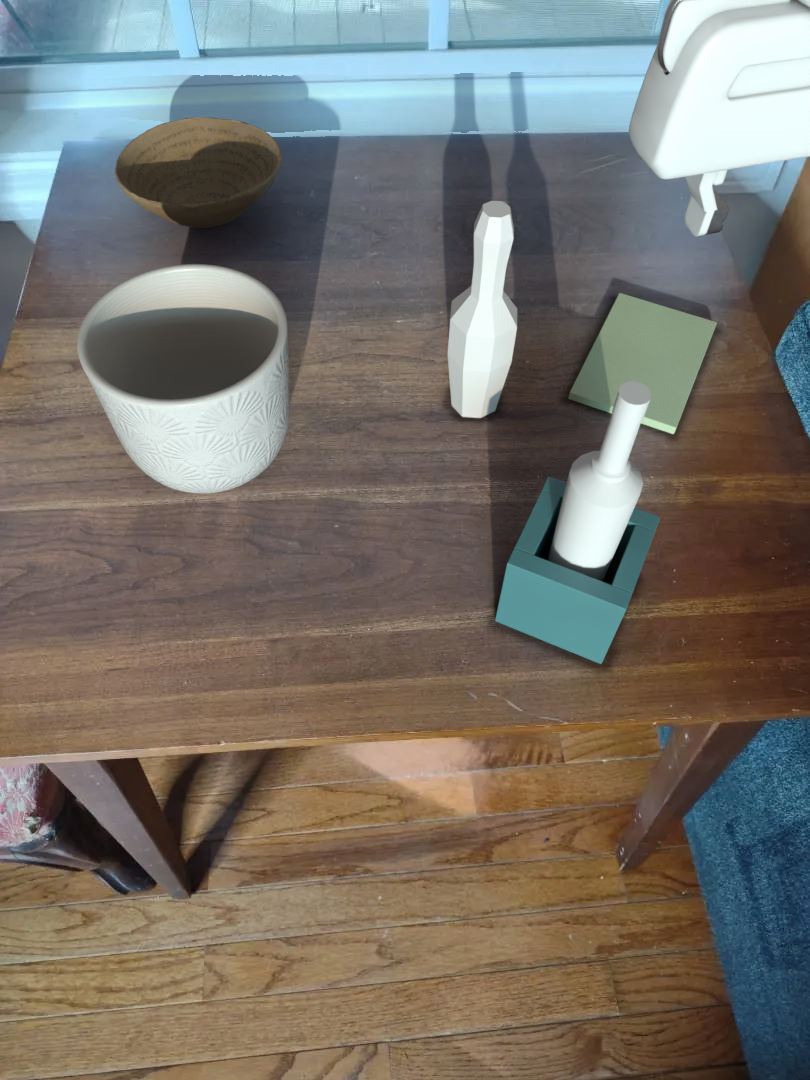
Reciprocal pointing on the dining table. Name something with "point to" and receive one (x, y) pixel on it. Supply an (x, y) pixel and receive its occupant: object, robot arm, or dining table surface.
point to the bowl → (199, 169)
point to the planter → (191, 373)
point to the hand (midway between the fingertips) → (774, 215)
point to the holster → (570, 583)
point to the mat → (645, 359)
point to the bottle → (602, 491)
